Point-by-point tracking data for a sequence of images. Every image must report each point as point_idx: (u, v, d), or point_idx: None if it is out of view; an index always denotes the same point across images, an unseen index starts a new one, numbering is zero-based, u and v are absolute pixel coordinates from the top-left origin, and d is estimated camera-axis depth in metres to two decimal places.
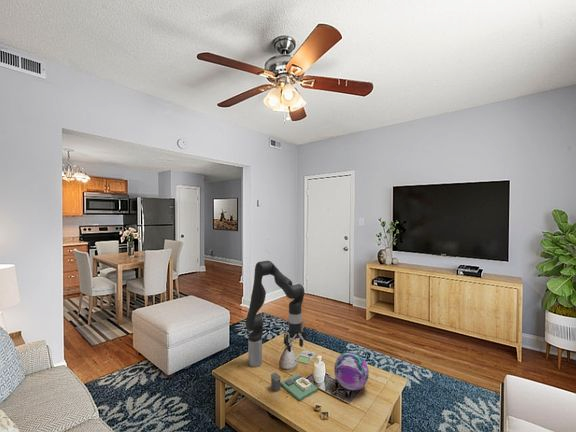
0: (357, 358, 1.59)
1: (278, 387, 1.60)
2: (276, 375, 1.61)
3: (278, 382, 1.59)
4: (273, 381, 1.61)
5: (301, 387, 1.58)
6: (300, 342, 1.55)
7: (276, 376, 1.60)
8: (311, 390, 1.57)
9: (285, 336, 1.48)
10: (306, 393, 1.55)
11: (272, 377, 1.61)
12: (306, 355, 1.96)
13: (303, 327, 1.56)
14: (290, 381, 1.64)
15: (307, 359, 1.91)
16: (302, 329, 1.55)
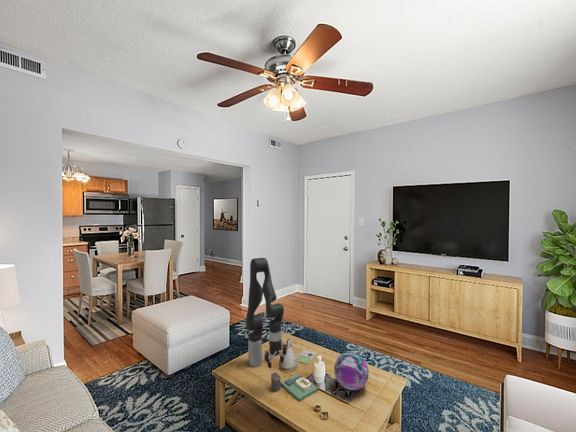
0: (357, 358, 1.59)
1: (278, 387, 1.60)
2: (276, 375, 1.61)
3: (278, 382, 1.59)
4: (273, 381, 1.61)
5: (301, 387, 1.58)
6: (281, 358, 1.63)
7: (276, 376, 1.60)
8: (311, 390, 1.57)
9: (265, 353, 1.57)
10: (306, 393, 1.55)
11: (272, 377, 1.61)
12: (306, 355, 1.96)
13: (283, 344, 1.65)
14: (290, 381, 1.64)
15: (307, 359, 1.91)
16: (282, 346, 1.63)
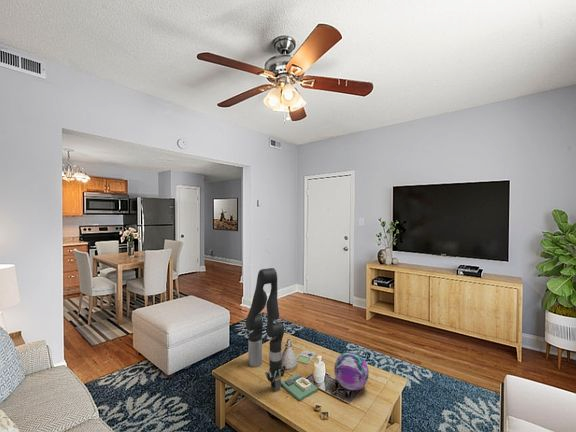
0: (357, 358, 1.59)
1: (278, 387, 1.60)
2: (276, 375, 1.61)
3: (278, 382, 1.59)
4: None
5: (301, 387, 1.58)
6: None
7: (276, 376, 1.60)
8: (311, 390, 1.57)
9: (266, 375, 1.57)
10: (306, 393, 1.55)
11: None
12: (306, 355, 1.96)
13: None
14: (290, 381, 1.64)
15: (307, 359, 1.91)
16: (282, 366, 1.64)
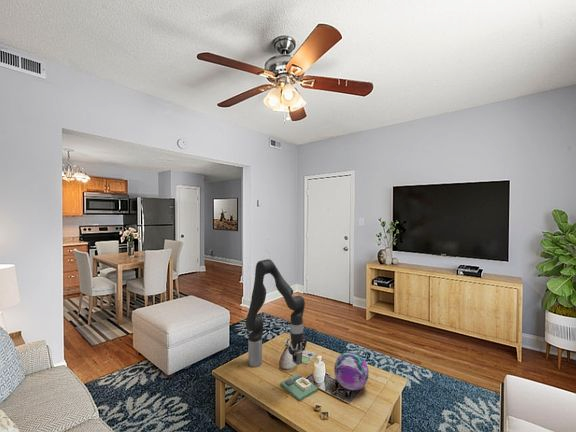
0: (357, 358, 1.59)
1: (300, 360, 1.58)
2: (297, 349, 1.60)
3: (300, 355, 1.58)
4: None
5: (301, 387, 1.58)
6: None
7: (297, 349, 1.59)
8: (311, 390, 1.57)
9: (288, 348, 1.56)
10: (306, 393, 1.55)
11: None
12: (306, 355, 1.96)
13: None
14: (290, 381, 1.64)
15: (307, 359, 1.91)
16: (303, 340, 1.63)
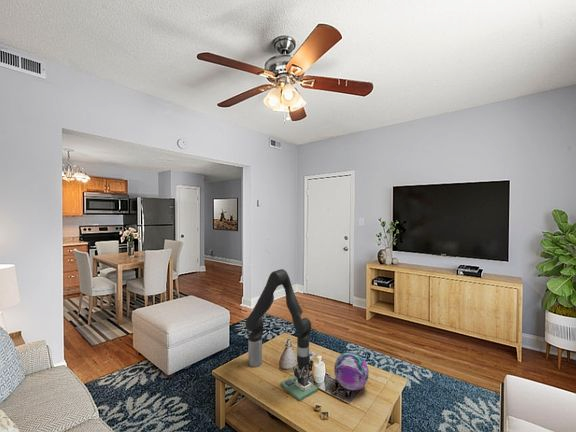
0: (357, 358, 1.59)
1: (306, 384, 1.60)
2: (304, 372, 1.61)
3: (306, 379, 1.59)
4: None
5: (301, 387, 1.58)
6: None
7: (304, 373, 1.60)
8: (311, 390, 1.57)
9: (294, 370, 1.57)
10: (306, 393, 1.55)
11: None
12: None
13: (311, 360, 1.65)
14: (290, 381, 1.64)
15: None
16: (310, 361, 1.64)
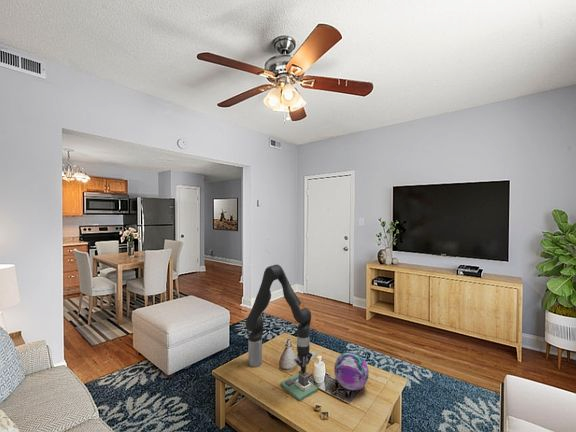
0: (357, 358, 1.59)
1: (306, 384, 1.60)
2: (304, 372, 1.61)
3: (306, 379, 1.59)
4: (301, 378, 1.61)
5: (301, 387, 1.58)
6: None
7: (304, 373, 1.60)
8: (311, 390, 1.57)
9: (296, 362, 1.58)
10: (306, 393, 1.55)
11: (300, 374, 1.61)
12: None
13: (310, 353, 1.65)
14: (290, 381, 1.64)
15: (307, 359, 1.91)
16: (309, 353, 1.63)
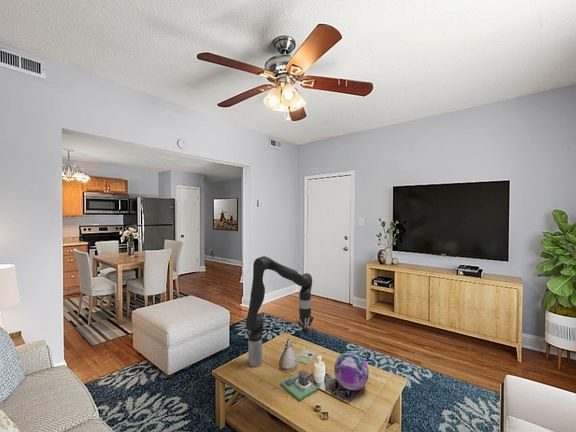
0: (357, 358, 1.59)
1: (306, 384, 1.60)
2: (304, 372, 1.61)
3: (306, 379, 1.59)
4: (301, 378, 1.61)
5: (301, 387, 1.58)
6: None
7: (304, 373, 1.60)
8: (311, 390, 1.57)
9: (298, 323, 1.66)
10: (306, 393, 1.55)
11: (300, 374, 1.61)
12: (306, 355, 1.96)
13: None
14: (290, 381, 1.64)
15: (307, 359, 1.91)
16: (311, 316, 1.72)
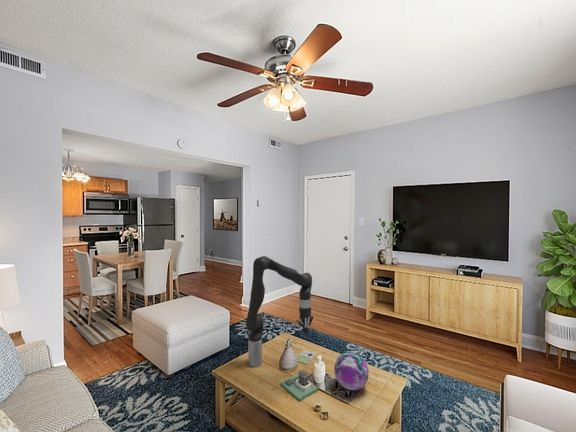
0: (357, 358, 1.59)
1: (306, 384, 1.60)
2: (304, 372, 1.61)
3: (306, 379, 1.59)
4: (301, 378, 1.61)
5: (301, 387, 1.58)
6: None
7: (304, 373, 1.60)
8: (311, 390, 1.57)
9: (298, 323, 1.66)
10: (306, 393, 1.55)
11: (300, 374, 1.61)
12: (306, 355, 1.96)
13: (312, 316, 1.73)
14: (290, 381, 1.64)
15: (307, 359, 1.91)
16: (311, 316, 1.72)
